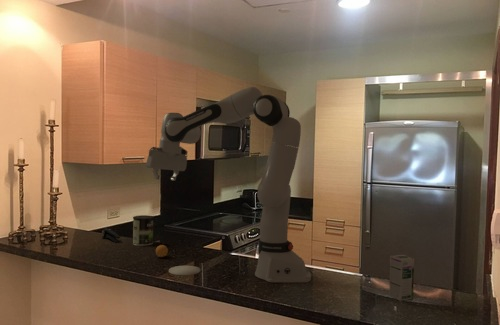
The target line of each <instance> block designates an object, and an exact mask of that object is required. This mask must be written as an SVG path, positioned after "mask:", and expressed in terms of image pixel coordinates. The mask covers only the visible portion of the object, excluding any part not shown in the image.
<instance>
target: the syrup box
mask: <svg viewBox="0 0 500 325" xmlns="http://www.w3.org/2000/svg"><path fill="white" fill-rule="evenodd" d="M414 278H415V258H414V257H412V256H410V255H406V254H397V255H390V256H389V290H388V291H389V292H388V293H389V294H388V295H389V297H391V298H393V299H395V300H398V301H400V302H403V301H408V300H413V299H414V282H415V280H414Z"/></svg>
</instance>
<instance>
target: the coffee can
mask: <svg viewBox="0 0 500 325" xmlns="http://www.w3.org/2000/svg"><path fill="white" fill-rule="evenodd" d="M132 218H133V220H132V221H133V222H132V245H134V246H137V247H144V246H145V247H146V246H151V245H153V244H154V219H155V218H154V216H153V215H145V214H144V215H143V214H142V215H134V216H133V217H132Z"/></svg>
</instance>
